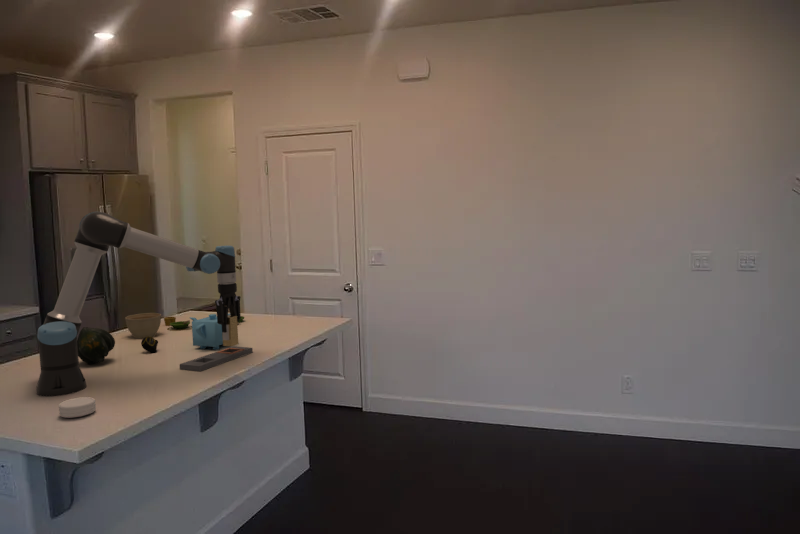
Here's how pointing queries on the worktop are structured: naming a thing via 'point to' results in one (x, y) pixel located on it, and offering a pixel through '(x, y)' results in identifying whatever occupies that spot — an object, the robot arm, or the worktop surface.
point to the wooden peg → (232, 331)
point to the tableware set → (182, 323)
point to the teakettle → (207, 332)
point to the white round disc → (77, 407)
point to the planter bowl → (143, 324)
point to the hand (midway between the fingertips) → (230, 338)
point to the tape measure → (149, 344)
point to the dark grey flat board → (215, 358)
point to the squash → (94, 344)
